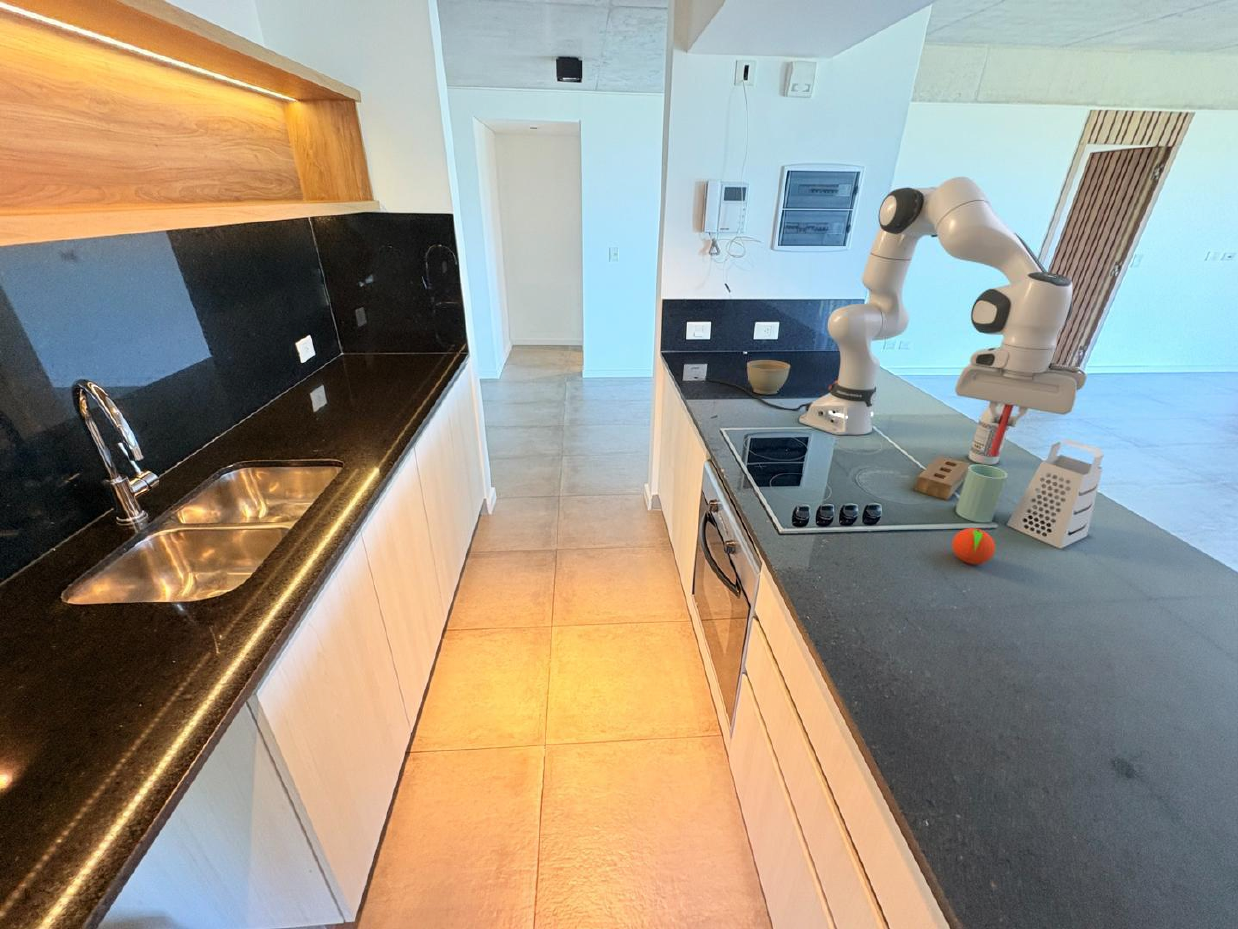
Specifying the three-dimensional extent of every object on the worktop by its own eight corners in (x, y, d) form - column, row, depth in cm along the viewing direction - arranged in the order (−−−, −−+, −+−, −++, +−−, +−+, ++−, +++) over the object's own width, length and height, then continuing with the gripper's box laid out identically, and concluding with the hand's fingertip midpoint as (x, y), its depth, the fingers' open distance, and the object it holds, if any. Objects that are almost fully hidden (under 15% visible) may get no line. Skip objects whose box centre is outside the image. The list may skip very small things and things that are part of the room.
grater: (1060, 548, 108) (1097, 459, 100) (1006, 525, 116) (1036, 441, 108) (1086, 535, 112) (1124, 449, 104) (1032, 514, 121) (1063, 432, 112)
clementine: (989, 578, 99) (1000, 546, 96) (947, 567, 102) (956, 535, 99) (989, 557, 105) (999, 527, 102) (949, 547, 109) (958, 517, 106)
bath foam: (989, 467, 144) (1012, 397, 135) (963, 459, 149) (983, 390, 140) (1001, 461, 147) (1024, 392, 139) (975, 453, 152) (995, 386, 144)
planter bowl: (791, 389, 211) (795, 362, 206) (779, 400, 198) (783, 371, 194) (752, 383, 219) (755, 357, 214) (738, 393, 206) (741, 366, 202)
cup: (951, 514, 121) (964, 471, 116) (960, 503, 125) (973, 461, 121) (988, 526, 116) (1003, 481, 111) (995, 514, 121) (1010, 470, 116)
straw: (988, 455, 114) (1008, 392, 109) (990, 453, 115) (1009, 391, 110) (996, 456, 113) (1016, 394, 108) (998, 454, 114) (1018, 392, 109)
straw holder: (914, 490, 132) (918, 476, 130) (935, 469, 143) (939, 455, 141) (947, 500, 127) (951, 485, 125) (966, 477, 138) (970, 463, 136)
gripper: (1092, 365, 101) (1066, 432, 107) (970, 349, 114) (953, 410, 120) (1088, 371, 97) (1062, 441, 103) (962, 354, 110) (945, 416, 116)
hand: (1002, 424), depth 111 cm, fingers closed on straw, 1 cm apart
